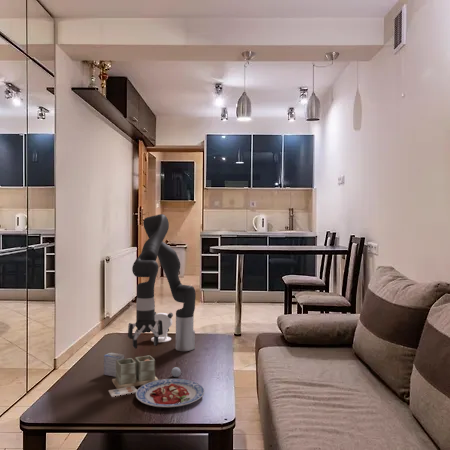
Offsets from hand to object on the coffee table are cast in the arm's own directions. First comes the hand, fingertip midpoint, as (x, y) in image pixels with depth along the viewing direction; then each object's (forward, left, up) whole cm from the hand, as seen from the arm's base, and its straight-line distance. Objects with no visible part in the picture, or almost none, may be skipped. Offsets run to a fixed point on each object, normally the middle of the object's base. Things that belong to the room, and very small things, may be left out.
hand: (145, 346), depth 174 cm
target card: (+11, +8, -14) cm, 20 cm away
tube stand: (+4, 0, -14) cm, 15 cm away
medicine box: (+10, -12, -14) cm, 21 cm away
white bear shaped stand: (-26, -55, -14) cm, 62 cm away
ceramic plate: (-4, +20, -15) cm, 25 cm away
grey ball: (-13, +2, -12) cm, 18 cm away
